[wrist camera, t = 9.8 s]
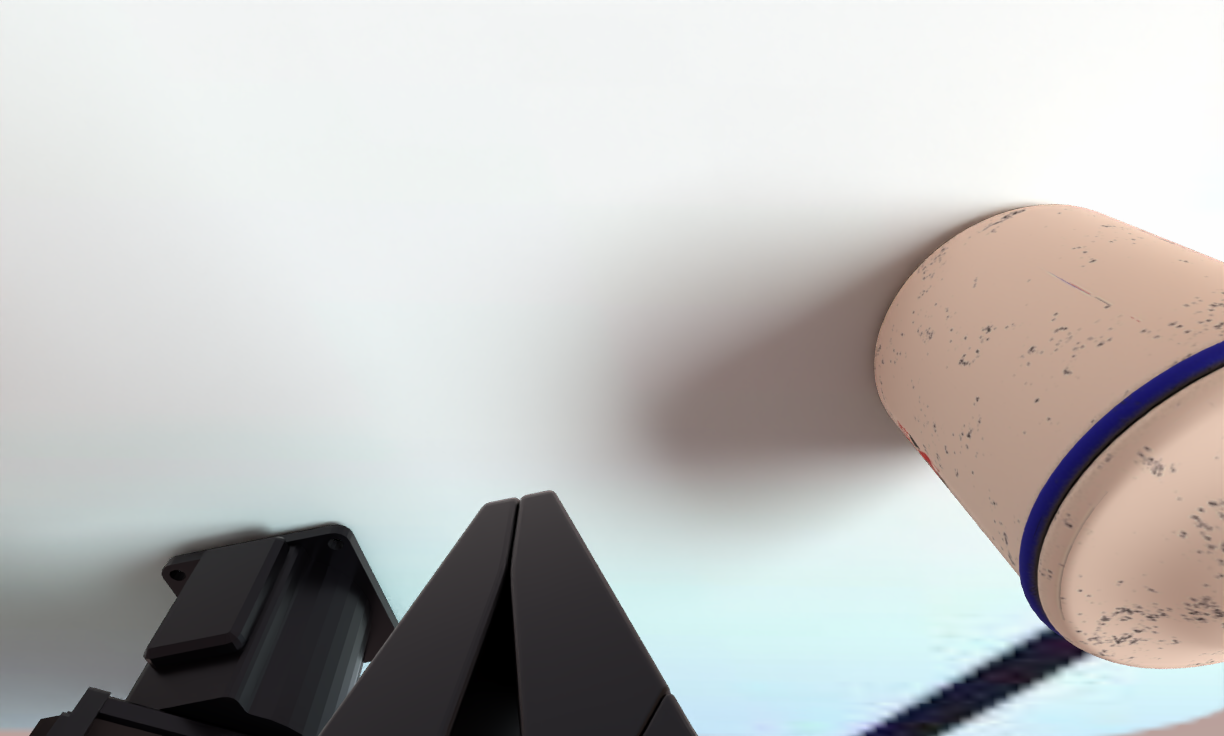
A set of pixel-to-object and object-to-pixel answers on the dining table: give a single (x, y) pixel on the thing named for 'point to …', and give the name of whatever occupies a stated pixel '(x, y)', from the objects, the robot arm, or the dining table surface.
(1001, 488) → the teacup with lid
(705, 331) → the dining table surface
